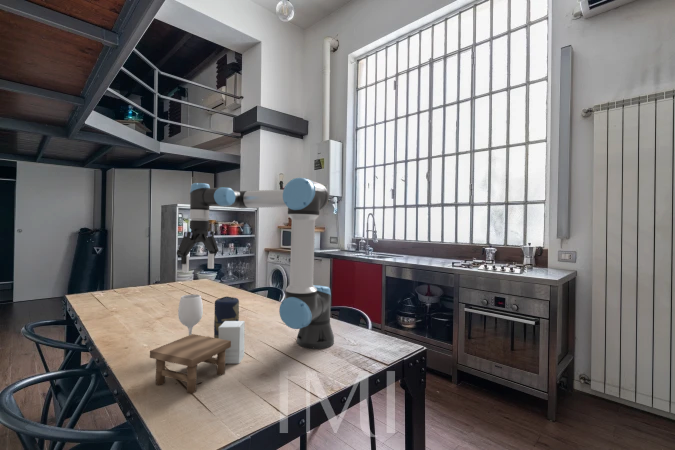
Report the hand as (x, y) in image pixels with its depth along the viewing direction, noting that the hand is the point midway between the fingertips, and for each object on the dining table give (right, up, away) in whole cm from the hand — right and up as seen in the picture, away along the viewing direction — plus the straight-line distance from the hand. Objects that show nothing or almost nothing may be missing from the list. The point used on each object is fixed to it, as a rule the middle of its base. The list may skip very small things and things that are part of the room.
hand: (198, 270), depth 136 cm
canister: (+13, -28, -5) cm, 32 cm away
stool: (+14, -28, -37) cm, 48 cm away
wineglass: (+5, -28, -19) cm, 34 cm away
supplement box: (+21, -28, -23) cm, 42 cm away
